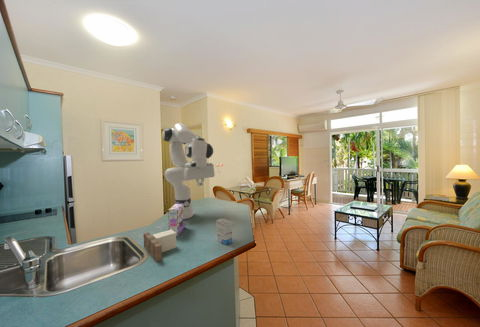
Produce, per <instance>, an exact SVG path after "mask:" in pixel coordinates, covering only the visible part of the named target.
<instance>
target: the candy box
mask: <svg viewBox="0 0 480 327" xmlns="http://www.w3.org/2000/svg"><path fill="white" fill-rule="evenodd" d="M174 204H175V203H174ZM174 204H173V205H174ZM173 205H172V206H173ZM172 206H171V207H170V208H168V210H167V211H168V213H167V214H168V230H171V229H172V230H173V231H174V232H176V237H179V236H180V235H181V234H182V232H183V230H184V228H185V219H184V204H175V205H174V206H173V207H172Z"/></svg>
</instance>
